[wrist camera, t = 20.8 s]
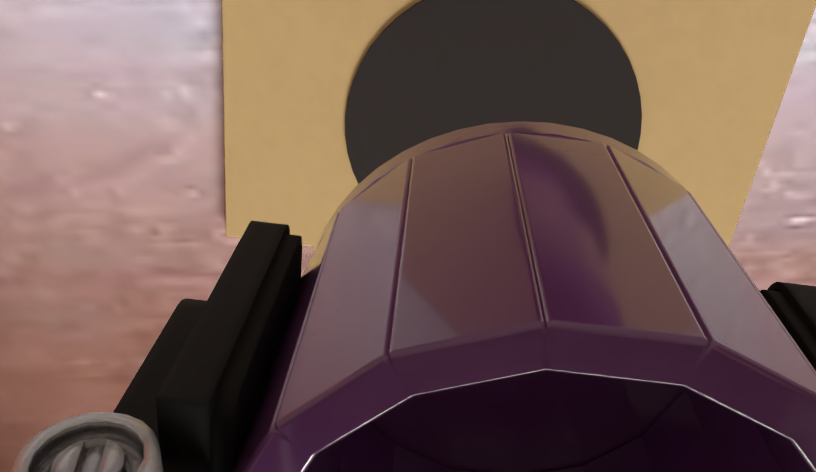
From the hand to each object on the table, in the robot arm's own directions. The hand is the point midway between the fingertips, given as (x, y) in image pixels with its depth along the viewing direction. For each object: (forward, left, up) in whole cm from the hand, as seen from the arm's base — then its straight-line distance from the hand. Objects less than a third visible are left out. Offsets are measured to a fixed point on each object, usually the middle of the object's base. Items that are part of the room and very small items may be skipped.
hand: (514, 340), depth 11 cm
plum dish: (0, 0, -1) cm, 1 cm away
